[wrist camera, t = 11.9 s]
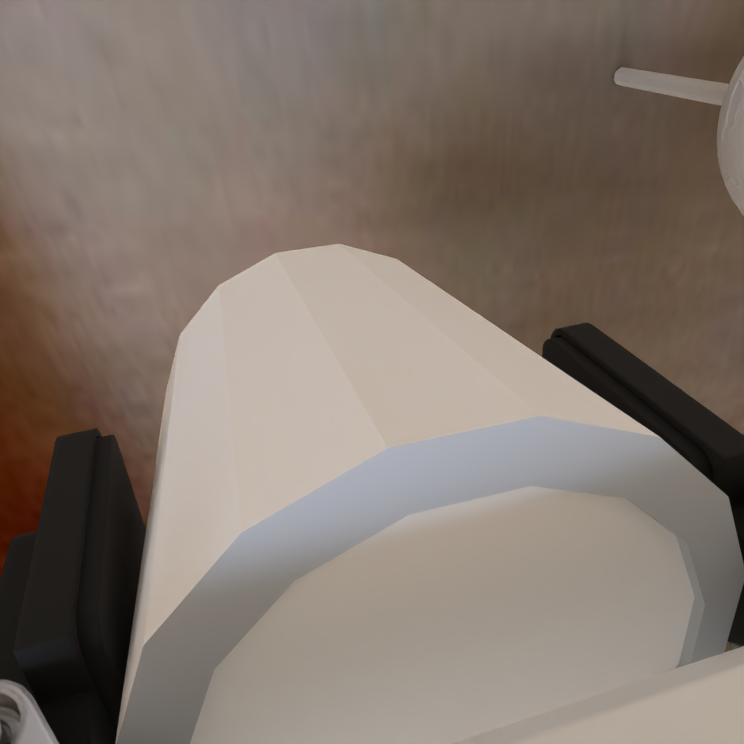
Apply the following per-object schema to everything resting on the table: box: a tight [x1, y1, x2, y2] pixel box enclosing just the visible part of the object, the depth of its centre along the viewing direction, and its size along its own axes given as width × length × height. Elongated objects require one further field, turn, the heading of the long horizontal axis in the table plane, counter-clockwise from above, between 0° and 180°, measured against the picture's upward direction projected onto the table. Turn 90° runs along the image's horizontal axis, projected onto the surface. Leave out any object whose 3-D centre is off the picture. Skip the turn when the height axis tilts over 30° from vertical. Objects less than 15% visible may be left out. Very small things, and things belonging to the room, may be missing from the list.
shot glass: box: [115, 244, 744, 744], centre depth 10 cm, size 7×7×7 cm
